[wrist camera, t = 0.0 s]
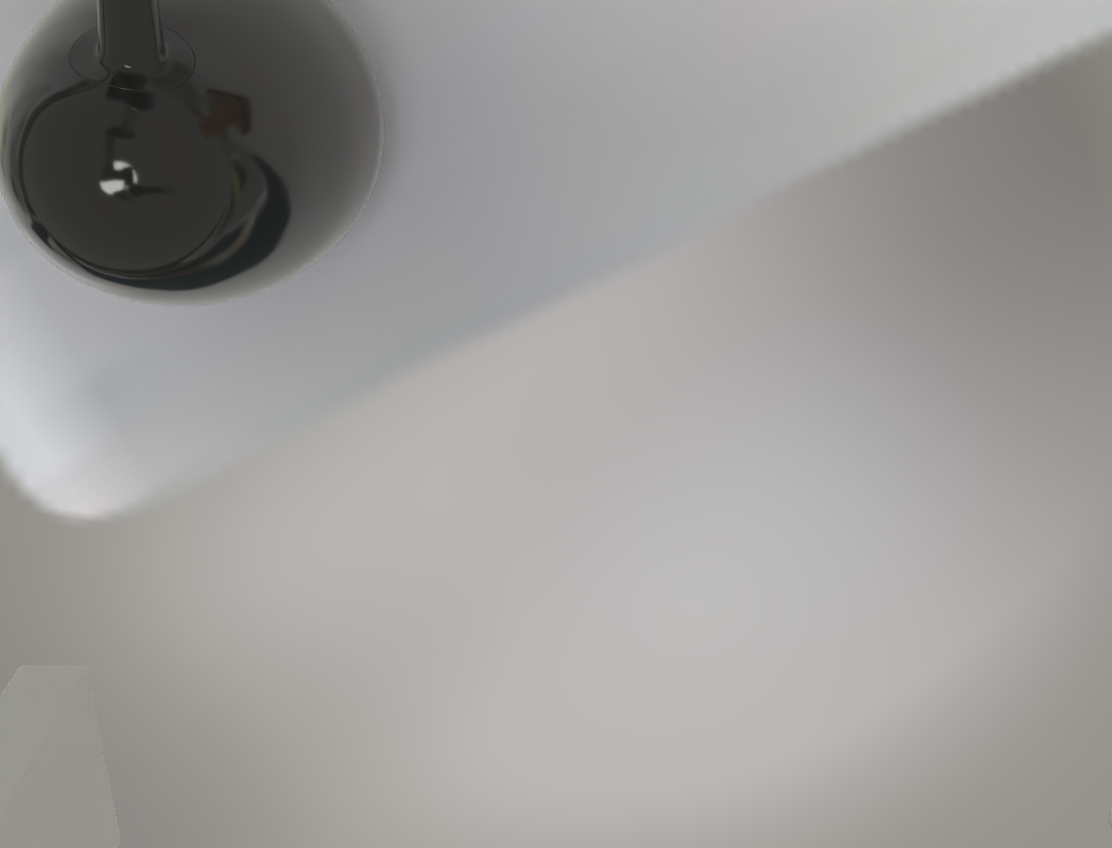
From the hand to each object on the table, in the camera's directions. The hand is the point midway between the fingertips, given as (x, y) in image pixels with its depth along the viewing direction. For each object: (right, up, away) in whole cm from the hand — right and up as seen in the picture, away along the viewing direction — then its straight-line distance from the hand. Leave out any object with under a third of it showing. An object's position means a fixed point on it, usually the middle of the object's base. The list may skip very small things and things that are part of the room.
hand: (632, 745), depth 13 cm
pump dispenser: (-12, +15, +23) cm, 30 cm away
